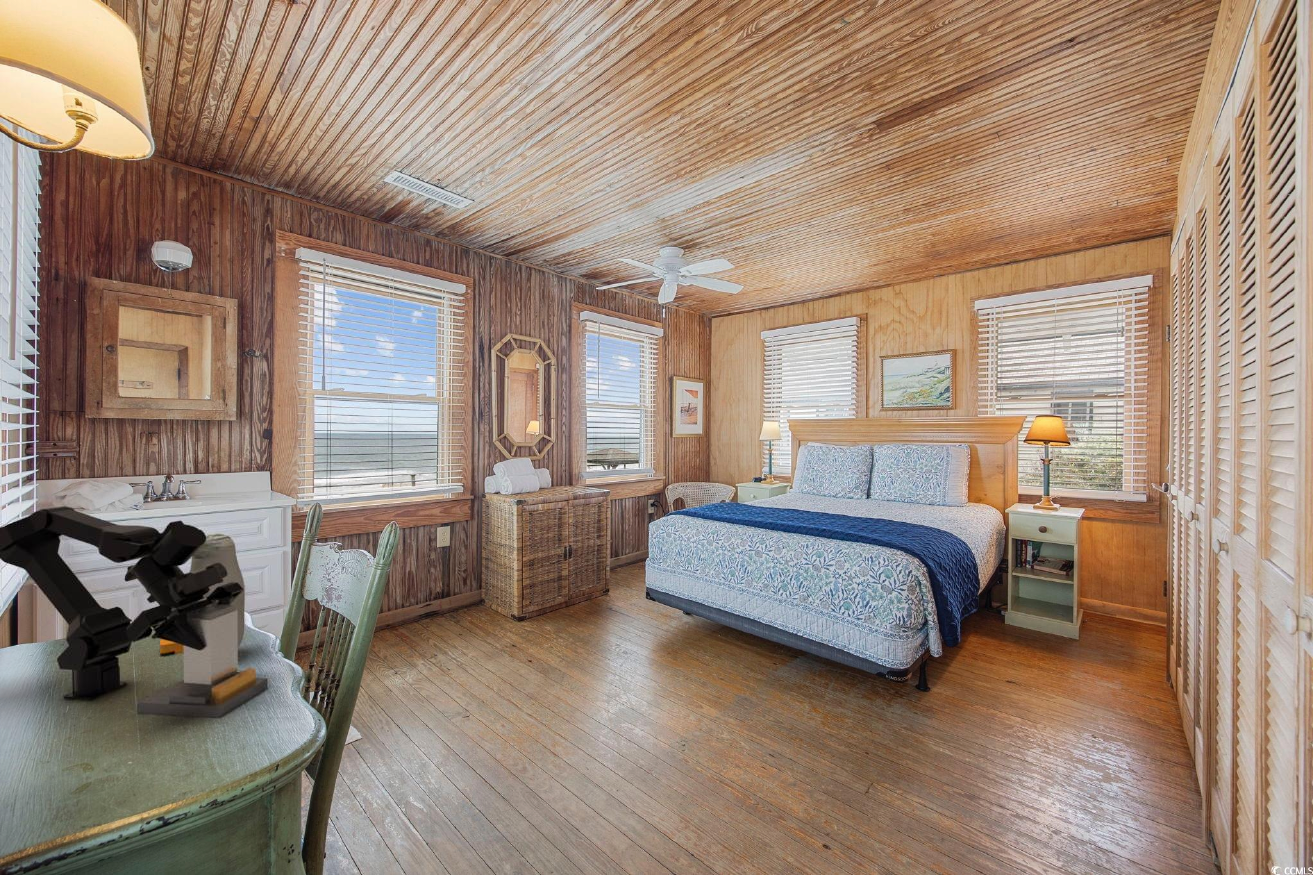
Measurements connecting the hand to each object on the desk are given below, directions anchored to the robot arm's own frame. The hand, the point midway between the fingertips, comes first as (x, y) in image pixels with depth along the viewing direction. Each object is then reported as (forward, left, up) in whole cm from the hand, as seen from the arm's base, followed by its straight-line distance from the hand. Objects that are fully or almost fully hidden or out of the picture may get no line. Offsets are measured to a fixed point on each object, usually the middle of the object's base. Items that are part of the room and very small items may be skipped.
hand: (217, 642), depth 103 cm
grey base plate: (-3, 0, -11) cm, 12 cm away
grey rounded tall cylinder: (-17, +17, -11) cm, 26 cm away
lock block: (-1, 0, -7) cm, 7 cm away
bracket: (-29, +23, -12) cm, 39 cm away
